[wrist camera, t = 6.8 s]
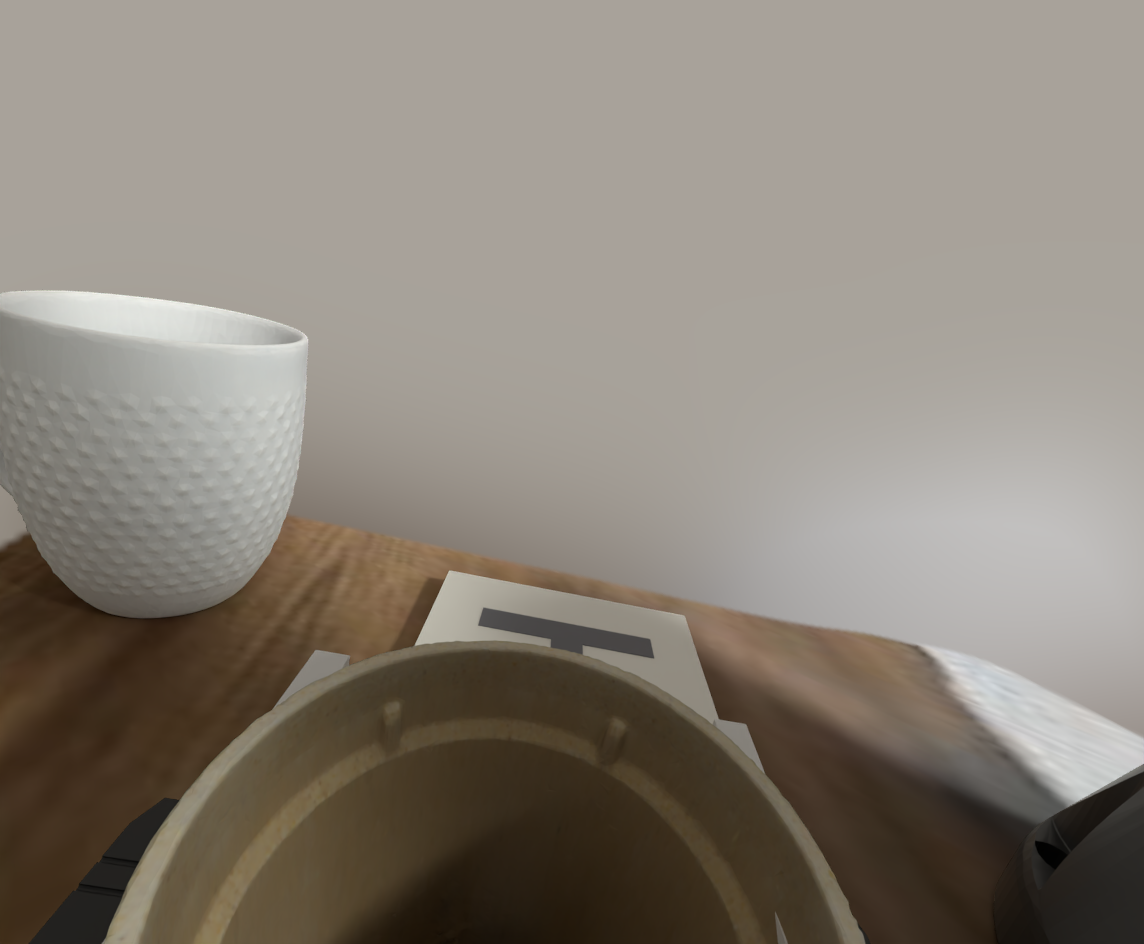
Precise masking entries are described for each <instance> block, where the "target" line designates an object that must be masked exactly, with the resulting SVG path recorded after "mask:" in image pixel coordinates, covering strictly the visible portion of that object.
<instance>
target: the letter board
mask: <svg viewBox="0 0 1144 944" xmlns="http://www.w3.org/2000/svg"><path fill="white" fill-rule="evenodd" d="M493 640H496V641H510V642H518V643H527V644H535V645H539V646H546V647H551V648H556V649H561V650H567V651H570V652H575V653H578V654H582V655H584V656H589V657H591V658H594V659H599V660H601V661H603V662H605V663H607V664H609V665H612V666H616V667H618V668H620V669H621V670H623V671H626V672H631V673H633V674H635V675H637V676H639V677H640V678H641V679H644V680H646V681H648V682H650V683H652V684H654V685H656V686H657V687H659V688H660V689H661V690H663V691H665V692H667V693H669V694H670V695H672V696H673V697H674V698H676V699H678V700H680V701H681V702H682V703H684V704H685V705H686V706H688V707H690V708H691V709H693V710H694V711H695V712H696V713H697V714H699V715H701V716H702V717H704V718H705V719H707V720H708V721H709V722H710V723H711V724H713V721H714V719H719V718H718V715H717V712H716V709H715V706H714V703H713V700H712V697H711V694H710V691H709V688H708V685H707V682H706V679H705V676H704V673H703V670H702V667H701V664H700V661H699V658H698V655H697V652H696V649H695V646H694V643H693V640H692V637H691V634H690V631H689V628H688V625H687V622H686V619H685V616H684V615H679V614H674V613H669V612H663V611H658V610H653V609H648V608H643V607H637V606H632V605H627V604H622V603H617V602H611V601H606V600H601V599H596V598H591V597H585V596H580V595H575V594H570V593H565V592H559V591H554V590H549V589H544V588H539V587H533V586H528V585H523V584H518V583H513V582H507V581H502V580H497V579H492V578H487V577H481V576H476V575H471V574H466V573H461V572H455V571H450V570H449V572H448V575H447V577H446V579H445V581H444V583H443V585H442V587H441V590H440V592H439V594H438V596H437V598H436V600H435V603H434V605H433V607H432V609H431V611H430V613H429V615H428V618H427V620H426V622H425V624H424V626H423V628H422V631H421V633H420V635H419V637H418V639H417V641H416V643H415V646H417V645H421V644H433V643H436V642H454V641H464V642H470V641H493Z"/></svg>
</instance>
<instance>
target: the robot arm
mask: <svg viewBox="0 0 1144 944" xmlns="http://www.w3.org/2000/svg"><path fill="white" fill-rule="evenodd" d="M349 660H350V656H349V655H343V654H338V653H332V652H326V651H320V650H315V652H314V653H313V654H312V656H311V657H310V658H309V660H308V661H307V663H306V664H305V665H304V667H303V668H302V669H301V671H300V672H299V674H298V675H297V676H296V678H295V679H294V680H293V682H292V683H291V685H290V686H289V687H288V689H287V690H286V691H285V693H284V694H283V696H282V697H281V698H280V700H279V701H278V702H277V704H276V705H275V706H274V708H275V707H276V706H277V705H279V704H281V703H282V702H283V701H285V700H286V699H287V698H288V697H289V696H291V695H292V694H294V693H296V692H297V691H299V690H300V689H302V688H304V687H305V686H307V685H309V684H310V683H312V682H314V681H316V680H319V679H322V678H324V677H327V676H329V675H331V674H333V673H334V672H336V671H338V670H340V669H343V668H345V667H347V666H349ZM274 708H273V709H274ZM273 709H272V710H273ZM713 725H714V726H715V727H717V728H718V729H719V730H720V731H722V732H723V733H724V734H725V735H726V736H727V737H728V738H730V739H731V740H732V741H733V742H734V743H735V744H736V745H738V746H739V748H740V749H741V750H742V751H743V752H744V753H745V754H746V755H747V756H748V757H749V758H750V759H752V760H753V761H754V762H755V764H756V765H757V766H758V767H759V769H760V770H761V771H762V772H763V773H764V774H765V772H764V770H763V767H762V764H761V762H760V759H759V757H758V754H757V751H756V749H755V746H754V743H753V741H752V738H751V736H750V733H749V730H748V728H747V725H746V724H743V723H737V722H731V721H725V720H719V719H714V721H713ZM179 801H180V800H176V799H169V798H164V799H163V800H161V801H160V802H159V803H157V804H156V805H155V806H153V807H152V808H150V809H149V810H148V811H146V812H145V813H143V814H142V815H141V816H139V817H138V818H137V819H135V820H134V821H132V822H131V823H130V824H129V825H128V826H127V827H126V829H125V830H124V831H123V832H122V833H121V834H120V836H119V837H118V838H117V839H116V840H115V842H114V843H113V844H112V845H111V846H110V848H109V849H108V850H107V851H106V852H105V854H104V855H103V856H102V859H101V861H100V862H99V863H98V862H97V863H96V864H95V865H94V867H93V868H92V869H91V870H90V871H89V873H88V874H87V875H86V876H85V877H84V879H83V880H82V881H81V882H80V883H79V886H78V888H77V890H76V891H73V892H72V893H71V894H70V895H69V896H68V898H67V899H66V900H65V901H64V902H63V904H62V905H61V906H60V907H59V908H58V909H57V911H56V912H55V913H54V914H53V915H52V917H51V918H50V919H49V920H48V921H47V923H46V924H45V925H44V926H43V927H42V929H41V930H40V931H39V932H38V933H37V934H36V936H35V937H34V938H33V939H32V940H31V942H30V943H29V944H104V942H105V939H106V936H107V933H108V930H109V926H110V924H111V922H112V920H113V917H114V915H115V913H116V911H117V909H118V906H119V904H120V902H121V900H122V897H123V894H124V892H125V889H126V887H127V884H128V882H129V881H130V879H131V877H132V875H133V873H134V871H135V869H136V867H137V865H138V863H139V861H140V860H141V858H142V856H143V854H144V852H145V850H146V848H147V847H148V845H149V843H150V841H151V840H152V838H153V837H154V835H155V834H156V832H157V831H158V830H159V828H160V827H161V825H162V824H163V822H164V821H165V820H166V818H167V817H168V815H169V814H170V812H171V811H172V810H173V808H174V807H175V806H176V804H177V803H178V802H179ZM775 918H776V928H777V938H778V944H788V943H787V940H786V937H785V934H784V932H783V929H782V927H781V924H780V922H779V919H778V917H777V914H776V912H775ZM994 921H995V929H996V934H997V939H998V943H999V944H1144V764H1143V765H1141V766H1139V767H1138V768H1136V769H1134V770H1132V771H1131V772H1129V773H1127V774H1125V775H1124V776H1122V777H1120V778H1118V779H1117V780H1115V781H1113V782H1111V783H1110V784H1108V785H1106V786H1104V787H1103V788H1101V789H1099V790H1097V791H1096V792H1094V793H1092V794H1090V795H1089V796H1087V797H1085V798H1083V799H1082V800H1080V801H1078V802H1076V803H1075V804H1073V805H1071V806H1069V807H1068V808H1066V809H1064V810H1062V811H1060V812H1059V813H1057V814H1055V815H1054V816H1052V817H1050V818H1048V819H1047V820H1045V821H1044V822H1042V823H1040V824H1039V825H1037V826H1036V827H1035V828H1034V829H1033V830H1032V831H1031V832H1030V833H1029V834H1028V835H1027V836H1026V837H1025V839H1024V840H1023V841H1022V843H1021V845H1020V846H1019V848H1018V849H1017V851H1016V853H1015V854H1014V856H1013V858H1012V859H1011V861H1010V862H1009V864H1008V866H1007V867H1006V869H1005V871H1004V872H1003V874H1002V875H1001V877H1000V879H999V882H998V884H997V887H996V891H995V896H994ZM857 924H858V923H857ZM858 928H859V929H860V931H861V932H862V933H863V936H864V940H865V944H870V941H869V939H868V937H867V935H866V934H865V932H864V931H863V930H862V928H861V927H860V926H859V924H858Z"/></svg>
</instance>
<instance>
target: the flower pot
mask: <svg viewBox="0 0 1144 944" xmlns="http://www.w3.org/2000/svg"><path fill="white" fill-rule="evenodd" d="M775 912H776V914H777V917H778V919H779V922H780V924H781V927H782V929H783V932H784V934H785V937H786V940H787V943H788V944H865V940H864V936H863V933H862V932H861V931H860V929H859V928H858V924H857V920H856V919H855V918H854V917H853V915H852V913H851V911H850V909H849V902H848V900H847V899H846V897H845V896H844V894H843V892H842V891H841V889H840V887H839V885H838V883H837V880H836V877H835V875H834V873H833V872H832V870H831V869H830V867H829V865H828V863H827V861H826V860H825V858H824V856H823V854H822V852H821V850H820V849H819V847H818V846H817V844H816V842H815V841H814V839H813V837H812V836H811V834H810V832H809V831H808V829H807V828H806V826H805V825H804V823H803V822H802V821H801V819H800V818H799V816H798V815H797V813H796V812H795V811H794V809H793V808H792V806H791V804H790V802H789V801H787V800H786V799H785V798H784V797H783V796H782V794H781V793H780V791H779V790H778V788H777V787H776V786H775V785H774V784H773V782H772V781H771V780H770V779H769V778H768V777H767V776H766V775H765V774H764V773H763V772H762V771H761V770H760V769H759V767H758V766H757V765H756V764H755V762H754V761H753V760H752V759H750V758H749V757H748V756H747V755H746V754H745V753H744V752H743V751H742V750H741V749H740V748H739V746H738V745H736V744H735V743H734V742H733V741H732V740H731V739H730V738H728V737H727V736H726V735H725V734H724V733H723V732H722V731H720V730H719V729H718V728H717V727H715V726H714V725H713V724H711V723H710V722H709V721H708V720H707V719H705V718H704V717H702V716H701V715H699V714H697V713H696V712H695V711H694V710H693V709H691V708H690V707H688V706H686V705H685V704H684V703H682V702H681V701H680V700H678V699H676V698H674V697H673V696H672V695H670V694H669V693H667V692H665V691H663V690H661V689H660V688H659V687H657V686H656V685H654V684H652V683H650V682H648V681H646V680H644V679H641V678H640V677H639V676H637V675H635V674H633V673H631V672H626V671H623V670H621V669H620V668H618V667H616V666H612V665H609V664H607V663H605V662H603V661H601V660H599V659H594V658H591V657H589V656H584V655H582V654H578V653H575V652H570V651H567V650H561V649H556V648H551V647H546V646H539V645H535V644H527V643H518V642H510V641H496V640H493V641H470V642H464V641H454V642H436V643H433V644H421V645H417V646H412V647H408V648H403V649H401V650H395V651H392V652H386V653H383V654H379V655H375V656H373V657H371V658H367V659H365V660H362V661H360V662H357V663H354V664H351V665H349V666H347V667H345V668H343V669H340V670H338V671H336V672H334V673H333V674H331V675H329V676H327V677H324V678H322V679H319V680H316V681H314V682H312V683H310V684H309V685H307V686H305V687H304V688H302V689H300V690H299V691H297V692H296V693H294V694H292V695H291V696H289V697H288V698H287V699H286V700H285V701H283V702H282V703H281V704H279V705H277V706H276V707H275V708H274V709H273V710H271V711H270V712H268V713H266V714H264V715H263V716H261V717H260V718H258V719H256V720H255V721H254V722H253V723H252V724H250V725H249V727H248V728H247V729H246V730H245V731H244V732H243V733H242V734H240V735H239V736H238V737H237V738H235V739H234V740H233V741H232V742H231V743H230V744H229V745H228V746H227V747H226V748H225V749H224V750H223V751H222V752H221V753H220V754H219V755H218V756H217V757H216V758H215V759H214V760H213V761H212V762H211V763H210V764H209V765H208V766H207V767H206V769H205V770H204V771H203V772H202V773H201V774H200V776H199V777H198V778H197V779H196V781H195V782H194V783H193V784H192V785H191V786H190V787H189V789H188V790H187V791H186V792H185V794H184V795H183V797H182V798H181V799H180V801H179V802H178V803H177V804H176V806H175V807H174V808H173V810H172V811H171V812H170V814H169V815H168V817H167V818H166V820H165V821H164V822H163V824H162V825H161V827H160V828H159V830H158V831H157V832H156V834H155V835H154V837H153V838H152V840H151V841H150V843H149V845H148V847H147V848H146V850H145V852H144V854H143V856H142V858H141V860H140V861H139V863H138V865H137V867H136V869H135V871H134V873H133V875H132V877H131V879H130V881H129V882H128V884H127V887H126V889H125V892H124V894H123V897H122V900H121V902H120V904H119V906H118V909H117V911H116V913H115V915H114V917H113V920H112V922H111V924H110V926H109V930H108V933H107V936H106V939H105V942H104V944H778V938H777V928H776V918H775Z"/></svg>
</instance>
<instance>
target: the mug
mask: <svg viewBox="0 0 1144 944" xmlns="http://www.w3.org/2000/svg"><path fill="white" fill-rule="evenodd" d="M307 358H308V338H307V336H306V335H305V334H304V333H302V332H301V331H299V330H297V329H295V328H292V327H290V326H287V325H284V324H281V323H278V322H275V321H271V320H268V319H264V318H261V317H257V316H252V315H248V314H244V313H239V312H235V311H230V310H225V309H220V308H215V307H209V306H203V305H196V304H190V303H183V302H176V301H167V300H161V299H154V298H146V297H137V296H126V295H117V294H106V293H95V292H79V291H51V290H39V291H35V290H33V291H14V292H5V293H0V485H2V487H3V488H4V489H5V490H6V491H7V492H8V493H9V494H10V495H12V496H13V497H14V500H15V502H16V503H17V504H18V511H19V512H20V513H21V515H22V516H23V520H24V521H25V523H26V528H27V530H28V531H29V532H30V534H31V536H32V539H33V540H34V542H35V543H36V544H37V548H38V550H39V551H40V553H41V556H42V557H43V558H44V559H45V560H46V561H47V563H48V564H49V565H50V566H51V569H52V571H53V573H54V574H56V575H57V576H58V577H59V578H60V579H61V580H62V581H63V583H64V584H65V585H66V586H67V587H68V588H69V589H70V590H71V591H73V592H74V593H75V594H76V595H77V596H79V597H80V598H81V599H83V600H84V601H85V602H87V603H89V604H90V605H92V606H94V607H95V608H97V609H99V610H102V611H104V612H107V613H109V614H113V615H118V616H123V617H129V618H163V617H172V616H179V615H185V614H189V613H193V612H197V611H201V610H204V609H207V608H209V607H212V606H214V605H217V604H219V603H221V602H223V601H225V600H226V599H228V598H230V597H231V596H233V595H234V594H235V593H237V592H238V591H239V590H240V589H241V588H243V587H244V586H245V585H246V584H247V582H248V581H249V580H250V579H251V578H252V577H253V575H254V574H255V573H256V571H257V570H258V569H259V567H260V566H261V564H262V563H263V561H264V560H265V558H266V557H267V556H268V555H269V554H270V552H271V548H272V547H273V544H274V542H275V541H276V540H277V537H278V534H279V533H280V530H281V527H282V524H283V521H284V520H285V518H286V513H287V511H288V509H289V505H290V503H291V498H292V497H293V494H294V492H293V491H294V489H293V488H294V485H295V482H296V480H297V471H298V469H299V461H300V460H299V457H300V454H301V443H302V437H303V434H302V432H303V429H304V423H303V419H304V414H305V408H304V406H305V403H306V396H305V391H306V386H307V381H306V373H307Z"/></svg>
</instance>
